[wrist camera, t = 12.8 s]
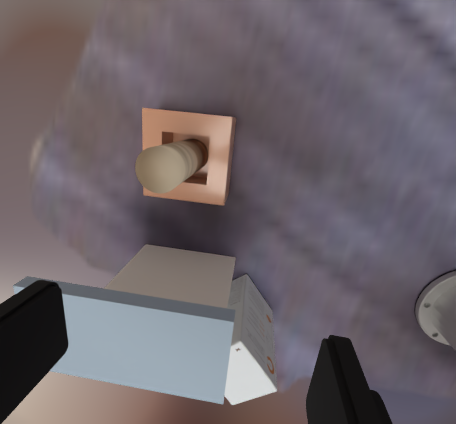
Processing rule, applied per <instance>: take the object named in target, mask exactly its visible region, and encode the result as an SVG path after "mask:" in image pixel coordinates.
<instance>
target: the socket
mask: <svg viewBox="0 0 456 424" xmlns="http://www.w3.org/2000/svg"><path fill="white" fill-rule="evenodd" d="M235 127H236V118H235V117H228V116H218V115H208V114H198V113H189V112H179V111H169V110H159V109H149V108H142V132H143V150H145V149H147V148H149V147H154V146H159V145H163V144H168V143H173V142H177V141H182V140H187V139H197V140H200V141H201V142H202V143H204V145H205V146H206V148H207V150H208V161H207V163H206V164H205V166H204V167H202V168H201V169H200V170H198V171H197V172H196V173H194V174H193V175H192V176H190V177H189V178H187V179H186V180H185V181H183V182H182V183H181V184H179V185H178V186H177V187H175V188H174V189H173V190H171V191H169V192H167V193H161V194H160V193H154V192H151V191H149V190H148V189H146V188H145V187H144V186H143V195H145V196H153V197H161V198H169V199H176V200H184V201H192V202H200V203H207V204H215V205H223V206H224V204H225V202H226V200H227V197H228V195H229V186H230V177H231V167H232V157H233V147H234V137H235Z"/></svg>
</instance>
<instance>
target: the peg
mask: <svg viewBox="0 0 456 424" xmlns="http://www.w3.org/2000/svg"><path fill="white" fill-rule="evenodd" d="M207 161H208V150H207V148H206V146H205V145H204V143H202V142H201V141H200V140H197V139H187V140H182V141H177V142H173V143H168V144H163V145H159V146H154V147H149V148H147V149H145V150H143V151H142V152H141V153H140V154H139V156H138V158H137V160H136V164H135V171H136V175H137V178H138V180H139V181H140V183H141V184H142V185H143V186H144V187H145V188H146V189H148V190H149V191H151V192H154V193H160V194H161V193H167V192H169V191H171V190H173V189H174V188H175V187H177V186H178V185H179V184H181V183H182V182H183V181H185V180H186V179H187V178H189V177H190V176H192V175H193V174H194V173H196V172H197V171H198V170H200V169H201V168H202V167H204V166H205V164H206V163H207Z"/></svg>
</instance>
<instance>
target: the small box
mask: <svg viewBox="0 0 456 424" xmlns="http://www.w3.org/2000/svg"><path fill="white" fill-rule="evenodd" d="M227 309H233V310H235V318H234V326H233V333H232V341H231V349H230V356H229V364H228V371H227V379H226V387H225V394H224V396H225V397H226V398H227V400H228V401H229V402H230V403H231V405H235V404H238V403H241V402H244V401H247V400H250V399H254V398H257V397H260V396H263V395H266V394H270V393H273V392H276V391H277V377H276V361H275V345H274V329H273V312H272V310H271V308H270V307H269V305H268V304H267V302H266V301H265V299H264V298H263V297H262V295H261V294H260V292H259V291H258V289H257V288H256V286H255V285H254V283H253V282H252V281H251V279H250V278H249V276H248V275H247V274H245V275H243V276H241V277H239V278H237V279H235V280H233V281H232V284H231V289H230V295H229V300H228V306H227Z"/></svg>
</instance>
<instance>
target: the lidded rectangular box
mask: <svg viewBox="0 0 456 424" xmlns="http://www.w3.org/2000/svg"><path fill="white" fill-rule="evenodd" d="M235 259H236V257H231V256H224V255H217V254H210V253H203V252H196V251H189V250H182V249H175V248H169V247H162V246H155V245H148V244H146V245H145V246H144V247H143V248H142V249H141V250H140V251H139V252H138V253H137V254H136V255H135V256H134V257H133V258H132V259H131V260H130V261H129V262H128V264H127V265H126V266H125V267H124V268H123V269H122V270H121V271H120V272H119V273H118V274H117V275H116V276H115V277H114V278H113V279H112V280H111V281H110V282H109V284H108V285H107V286H106V287H105V288H104V289H103V288H97V287H90V286H84V285H78V284H72V283H66V282H59V281H53V280H47V281H52V282H56V283H57V284H58V285H59V287H60V288H61V290H62V297H63V305H64V312H65V320H66V328H67V335H68V349H67V351H66V353H65V354H64V355H63V357H62V358H61V359H60V360H59V361H58V362H57V363H56V364H55V365H54V366H53V368H52V369H51V370H50V371H52V372H57V373H63V374H68V375H73V376H78V377H83V378H89V379H94V380H99V381H104V382H110V383H115V384H120V385H125V386H131V387H136V388H141V389H146V390H151V391H157V392H162V393H167V394H172V395H178V396H183V397H188V398H193V399H198V400H204V401H209V402H214V403H219V404H223V401H224V394H225V387H226V379H227V371H228V364H229V356H230V349H231V341H232V333H233V326H234V318H235V310H233V309H227V306H228V300H229V295H230V289H231V284H232V278H233V272H234V267H235ZM37 280H46V279H41V278H35V277H28V276H27V277H26V278H24V279H22V280H21V281H19V282H18V283H16V284H15V285H13V288H14V293H15V294H17V293H18V292H20V291H21V290H23V289H24V288H26V287H27V286H29V285H30V284H32V283H34V282H35V281H37Z"/></svg>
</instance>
